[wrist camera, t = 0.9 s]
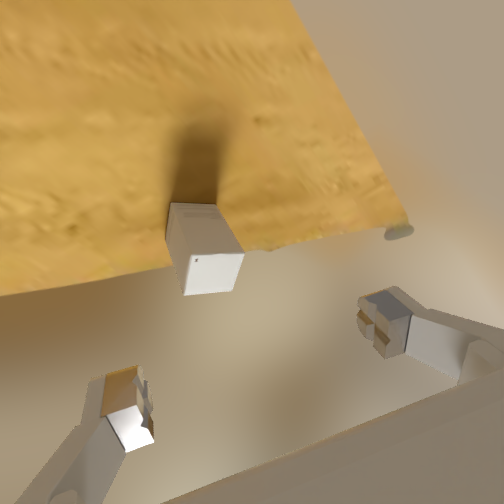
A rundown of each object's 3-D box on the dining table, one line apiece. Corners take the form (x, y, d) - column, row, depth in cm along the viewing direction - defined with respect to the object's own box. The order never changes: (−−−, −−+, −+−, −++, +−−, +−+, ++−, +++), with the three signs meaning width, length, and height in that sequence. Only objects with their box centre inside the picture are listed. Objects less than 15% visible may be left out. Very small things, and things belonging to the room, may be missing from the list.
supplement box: (163, 241, 61) (181, 297, 51) (169, 201, 56) (190, 254, 46) (208, 241, 65) (232, 292, 55) (217, 203, 60) (246, 252, 50)
